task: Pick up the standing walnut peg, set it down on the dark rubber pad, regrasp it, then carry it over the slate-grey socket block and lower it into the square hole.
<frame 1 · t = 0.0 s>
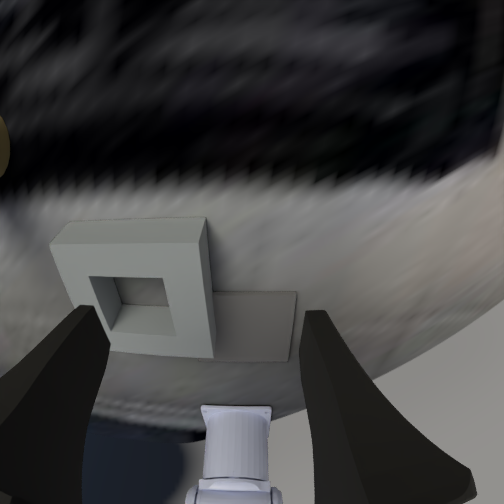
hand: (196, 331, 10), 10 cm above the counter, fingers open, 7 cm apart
socket: (144, 279, 22), on the counter
pad: (241, 329, 24), on the counter
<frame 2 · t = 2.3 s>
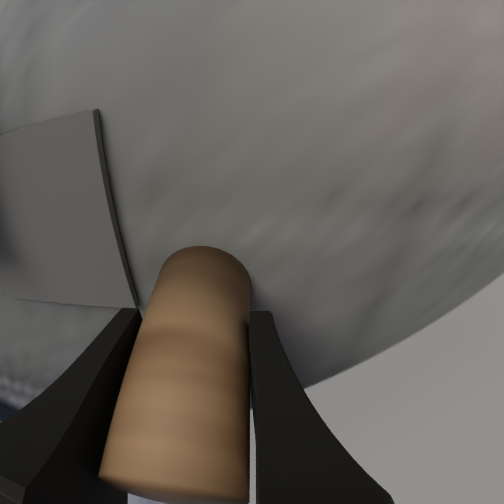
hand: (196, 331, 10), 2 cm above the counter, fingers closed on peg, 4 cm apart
pad: (35, 223, 10), on the counter
peg: (204, 285, 12), on the counter, touching gripper
when the fingers open (4 cm above the counter, at t = 4.9 s): peg stays where it is, resting on pad.
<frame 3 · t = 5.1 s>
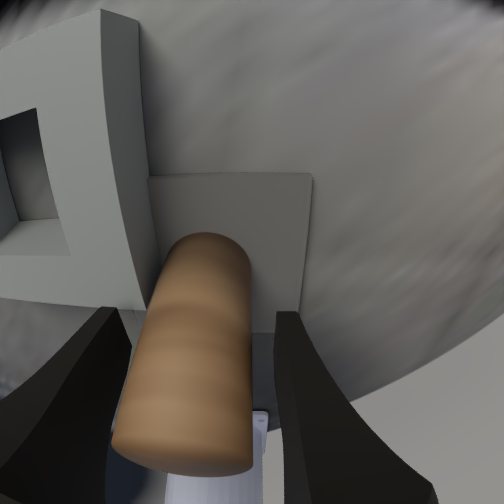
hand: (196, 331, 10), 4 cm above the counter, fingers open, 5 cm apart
socket: (43, 164, 10), on the counter
pad: (208, 263, 13), on the counter
peg: (207, 269, 13), resting on pad
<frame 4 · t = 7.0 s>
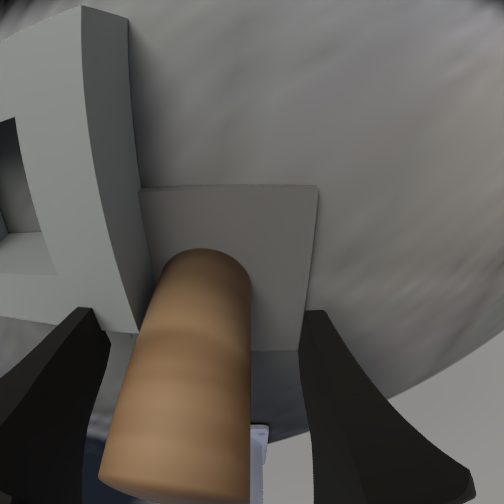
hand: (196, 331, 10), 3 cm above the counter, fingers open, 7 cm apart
socket: (29, 175, 10), on the counter
pad: (206, 280, 12), on the counter
peg: (205, 287, 12), resting on pad
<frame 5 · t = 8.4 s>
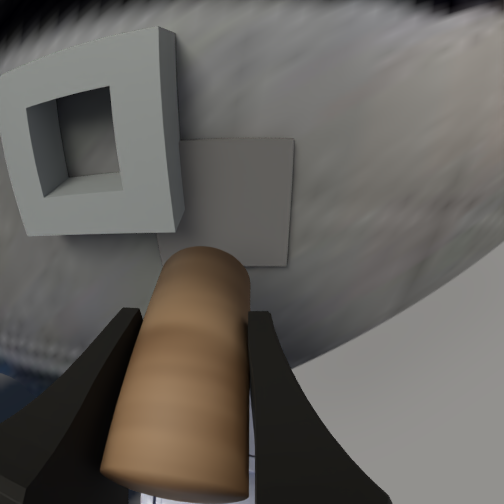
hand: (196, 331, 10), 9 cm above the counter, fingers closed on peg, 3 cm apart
socket: (96, 132, 15), on the counter
pad: (220, 205, 18), on the counter
peg: (204, 284, 12), point 7 cm above the counter, touching gripper
when the fingers open (4 cm above the counter, at t = 10.8 s): peg drops 1 cm, resting in socket.
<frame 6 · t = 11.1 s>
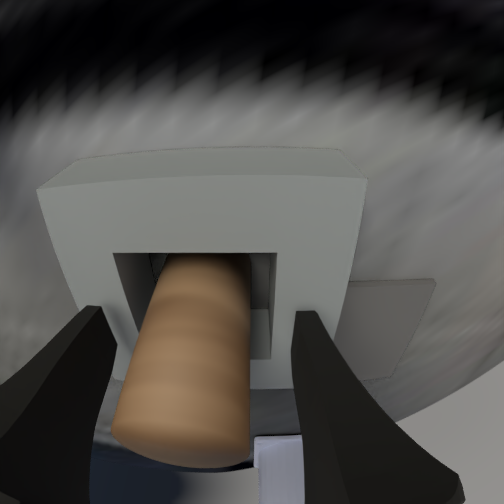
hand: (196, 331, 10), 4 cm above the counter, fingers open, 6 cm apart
socket: (208, 264, 13), on the counter
pad: (347, 338, 16), on the counter
peg: (208, 265, 13), resting in socket
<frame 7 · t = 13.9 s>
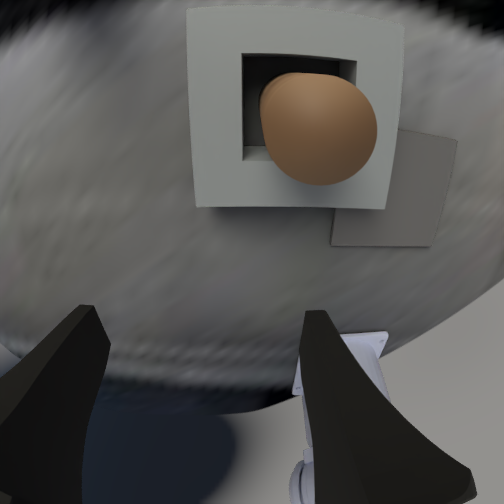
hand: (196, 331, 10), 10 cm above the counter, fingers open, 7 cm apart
socket: (291, 102, 15), on the counter
pad: (395, 190, 18), on the counter
peg: (291, 103, 15), resting in socket
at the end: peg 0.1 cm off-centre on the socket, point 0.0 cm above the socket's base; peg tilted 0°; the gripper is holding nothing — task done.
